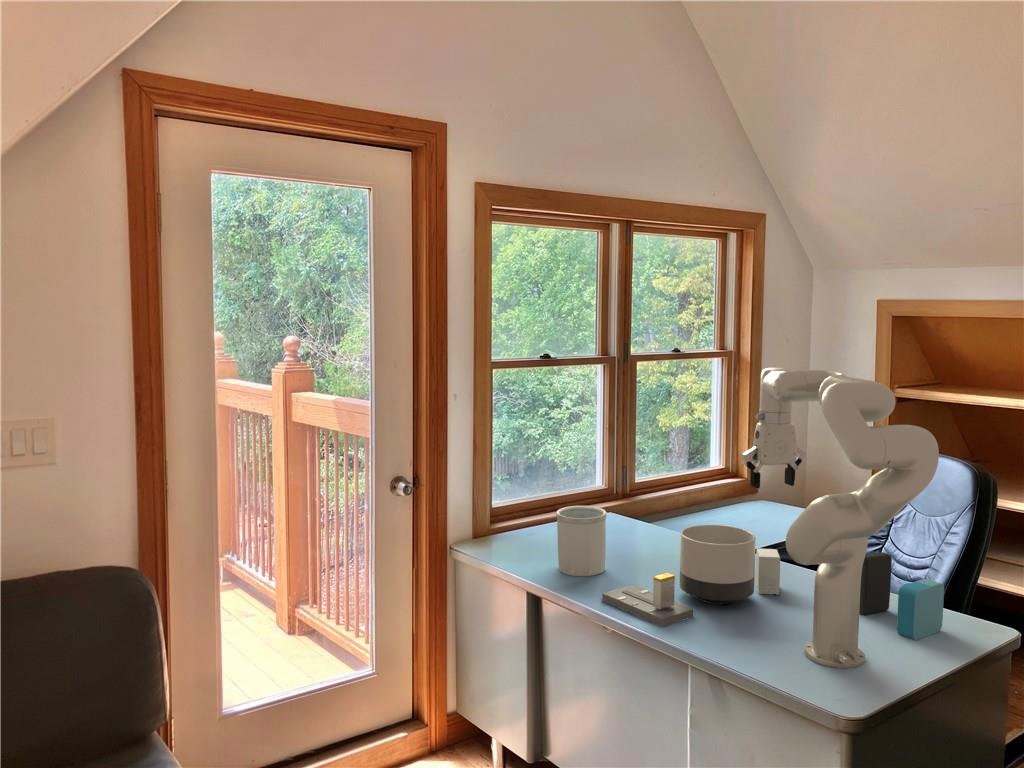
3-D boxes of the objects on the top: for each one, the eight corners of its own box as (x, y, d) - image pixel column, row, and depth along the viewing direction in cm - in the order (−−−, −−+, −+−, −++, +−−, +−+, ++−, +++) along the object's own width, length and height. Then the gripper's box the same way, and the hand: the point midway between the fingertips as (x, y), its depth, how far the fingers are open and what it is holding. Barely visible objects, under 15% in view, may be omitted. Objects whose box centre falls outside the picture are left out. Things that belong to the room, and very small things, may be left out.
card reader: (879, 606, 217) (881, 550, 215) (891, 611, 213) (893, 554, 212) (851, 611, 214) (853, 554, 212) (863, 616, 210) (865, 558, 208)
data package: (924, 624, 205) (926, 577, 204) (942, 630, 201) (945, 582, 200) (895, 635, 198) (898, 586, 197) (913, 641, 195) (916, 592, 193)
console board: (693, 616, 210) (693, 608, 210) (662, 626, 204) (662, 618, 204) (632, 591, 228) (632, 584, 228) (602, 600, 222) (602, 592, 221)
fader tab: (674, 605, 211) (674, 575, 210) (660, 609, 208) (660, 579, 208) (667, 602, 213) (667, 572, 212) (653, 606, 210) (653, 576, 210)
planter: (753, 589, 229) (755, 527, 228) (754, 615, 211) (756, 547, 209) (682, 583, 235) (683, 522, 233) (676, 608, 216) (677, 541, 214)
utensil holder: (551, 575, 242) (551, 516, 240) (560, 559, 256) (561, 504, 254) (602, 579, 238) (602, 519, 236) (608, 563, 253) (609, 506, 251)
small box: (779, 595, 225) (780, 557, 224) (758, 594, 226) (759, 556, 225) (776, 585, 233) (777, 548, 232) (755, 584, 234) (756, 547, 233)
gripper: (752, 421, 200) (749, 491, 202) (814, 418, 204) (811, 487, 206) (735, 417, 207) (733, 484, 209) (796, 414, 211) (793, 480, 214)
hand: (772, 485), depth 208 cm, fingers open, 9 cm apart
